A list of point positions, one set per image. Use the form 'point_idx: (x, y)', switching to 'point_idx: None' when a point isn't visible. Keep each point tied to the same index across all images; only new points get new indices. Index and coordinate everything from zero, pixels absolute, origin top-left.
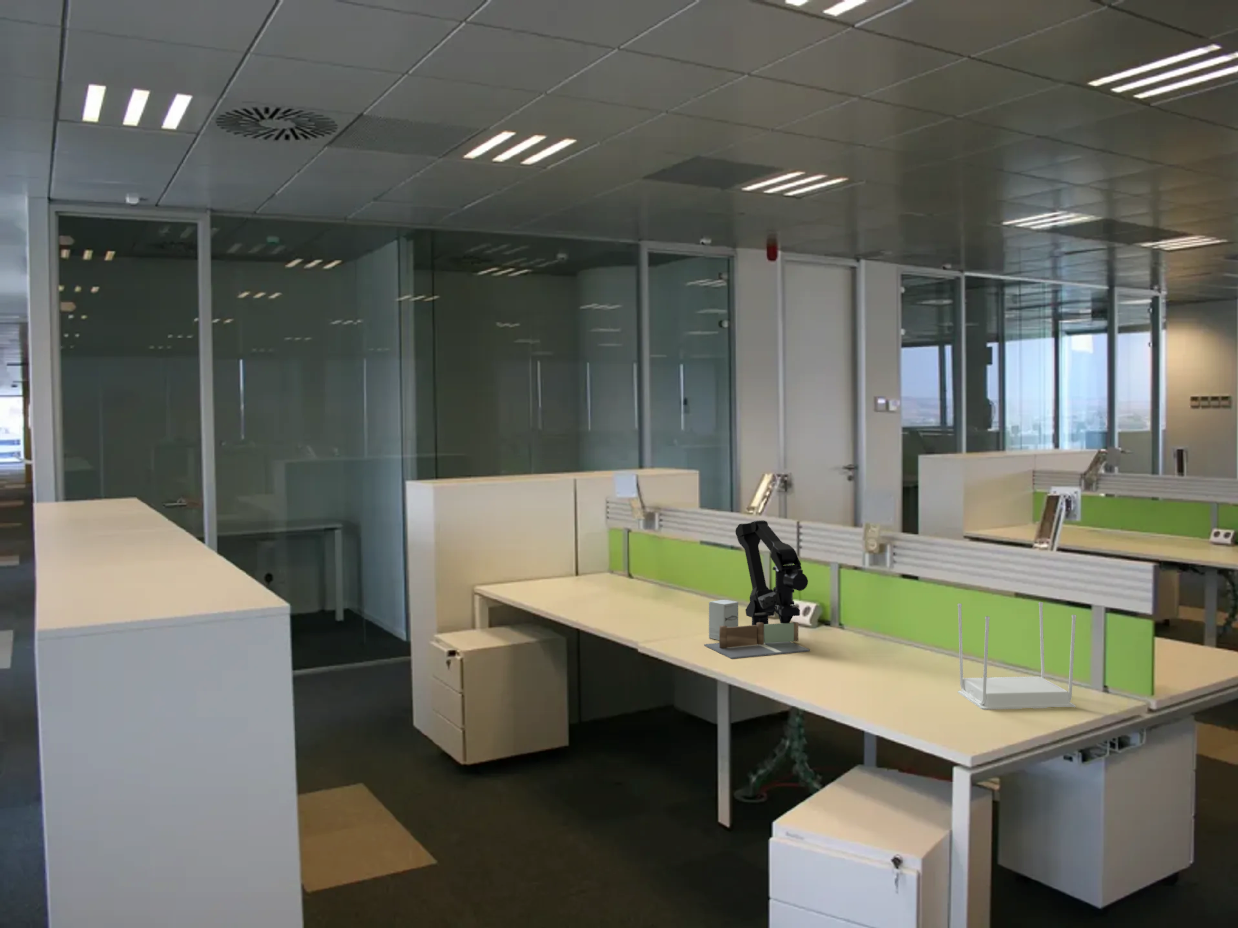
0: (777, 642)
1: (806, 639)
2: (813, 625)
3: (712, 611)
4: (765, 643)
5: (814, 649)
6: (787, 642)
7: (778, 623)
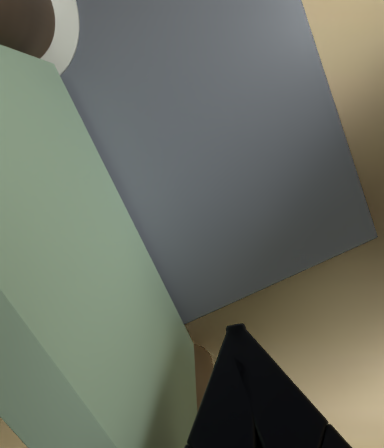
0: (143, 218)
1: (324, 408)
2: None
3: None
4: (67, 88)
5: (12, 444)
6: None
7: (77, 395)
